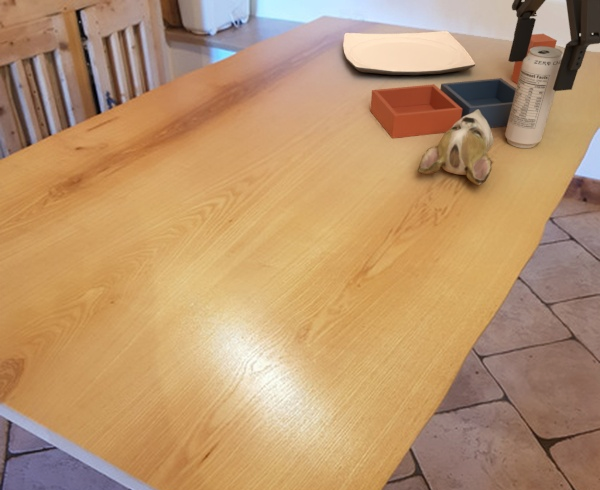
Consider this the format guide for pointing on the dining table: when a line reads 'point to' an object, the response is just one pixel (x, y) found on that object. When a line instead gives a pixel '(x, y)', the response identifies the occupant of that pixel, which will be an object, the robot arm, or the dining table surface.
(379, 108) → the clay bin
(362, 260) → the dining table surface
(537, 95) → the energy drink can
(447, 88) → the slate bin
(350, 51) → the plate
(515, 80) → the terracotta block
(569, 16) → the robot arm
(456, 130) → the ceramic sculpture
